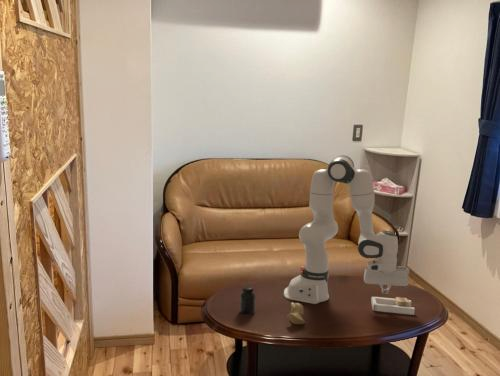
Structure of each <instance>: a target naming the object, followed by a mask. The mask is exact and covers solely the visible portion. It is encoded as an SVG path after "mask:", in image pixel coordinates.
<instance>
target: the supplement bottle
mask: <svg viewBox="0 0 500 376" xmlns="http://www.w3.org/2000/svg"><path fill="white" fill-rule="evenodd" d="M241 291H242V292H240V295H239V312H240V313H241V314H242V315H244V316H250V315H253V314H254V313H255V311H256V294H255V292H254V286H252V285H249V284H248V285H243V286H242V290H241Z"/></svg>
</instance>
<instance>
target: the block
mask: <svg viewBox="0 0 500 376" xmlns="http://www.w3.org/2000/svg"><path fill="white" fill-rule="evenodd" d="M395 299H396V301H395V306H405V307H408V303H409V302H408V300H409V299H408V298H407V297H400V296H395Z"/></svg>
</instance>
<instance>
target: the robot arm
mask: <svg viewBox="0 0 500 376" xmlns="http://www.w3.org/2000/svg"><path fill="white" fill-rule="evenodd" d="M335 183H342V184H347V185H348V189H349V197H350V201H351V205H352V208H353V209H354V211H355V212H356V213H357V216H358V221H359V229H360V233H359V235H358V240H357V244H358V245H357V251H358V254H359V255H360V256H361V257H363V259H374V260H370V261H367V263H366V264H367V267H366V268H365V269H364V273H363V282H364V284H365V285H366V284H367V285H379V287H380V289H381V294H387V295H388V294H389V291H390V290H391V288H392V286H394V287H395V286H396V287H408V286H409V275H410V271H411V270H410V268H409V267H407V266H406V265H405V266H404V265H403V266H402V265H397V263H398V258H397V254H398V250H399V239H398V235H396V234H395V233H394V232H392V231H390V230H381V231H379V232H377V233H376V232H375V230H374V228H375V227H374V221H373V210H374V208H375V203H376V202H375V200H376V199H375V196H376V195H375V188H374V187H375V186H374V184H373V179H372V176H371V173H370V171H368V170H367V169H362V168H360V169H359V168H358V169H357V168H355V164H354V161H353V159H352V158H351V157H349V156H348V155H338V156H336V157H335V158H333V159H332V160H331V161H330V162H329V164H328V166H327V168H324V169H317V170H315V171H314V173H312V178H311V183H310V189H309V203H308V204H309V205H308V207H309V210H310V211H312V216H313V220H312V221H311V222H308V223H306V224H305V225H303V226H302V227H301V228H300V229H299V232H298V238H299V241H300V242H301V244H303V247H304V251H305V263H304V264H305V266H304V265H301V266H300V269H299V270H300V274H299V275H297V276H295V277H293V278H292V279H291V280H290V282H289V284H288V286H287V287H285V288H284V290H283V296H284V298H285V299H287V300H291V301H297V302H302V303H308V304H312V305H316V304H319V303H322V302H326V301H328V300H329V299H330V295H329V289H328V281H329V257H330V256H329V253H328V252H327V251H326V248H325V244H326V242H327V241H329V240H331V239H333V238H334V237H335V236H336V235H337V234H338V232H339V225H338V223H337V221H336V220H335V216H334V213H333V205H334V204H333V203H334V202H333V201H334V189H335V188H334V187H335ZM384 286H387V288H384Z"/></svg>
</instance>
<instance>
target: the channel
mask: <svg viewBox="0 0 500 376" xmlns="http://www.w3.org/2000/svg"><path fill="white" fill-rule="evenodd" d="M407 300H408V302H409V303H408V307H405V306H395V301H396V298H391V297H381V296H374V295H373V296H371V298H370V303H371V309H372V311H373V312H382V313H390V314H391V313H393V314H401V315H410V316H411V315H413V316H414V315H415V309H416V308H415V307H414V306H413V307H412V300H410V299H407Z"/></svg>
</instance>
